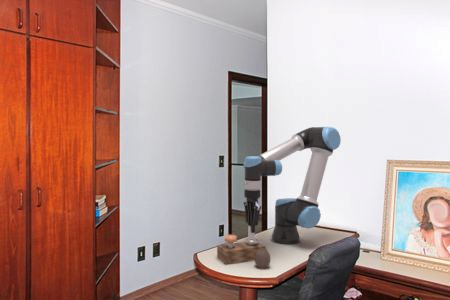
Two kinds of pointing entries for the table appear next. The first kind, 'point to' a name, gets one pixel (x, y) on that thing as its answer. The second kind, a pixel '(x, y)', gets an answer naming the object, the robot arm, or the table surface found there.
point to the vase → (262, 257)
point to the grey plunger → (252, 242)
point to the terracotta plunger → (230, 240)
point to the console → (237, 252)
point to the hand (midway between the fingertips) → (251, 239)
